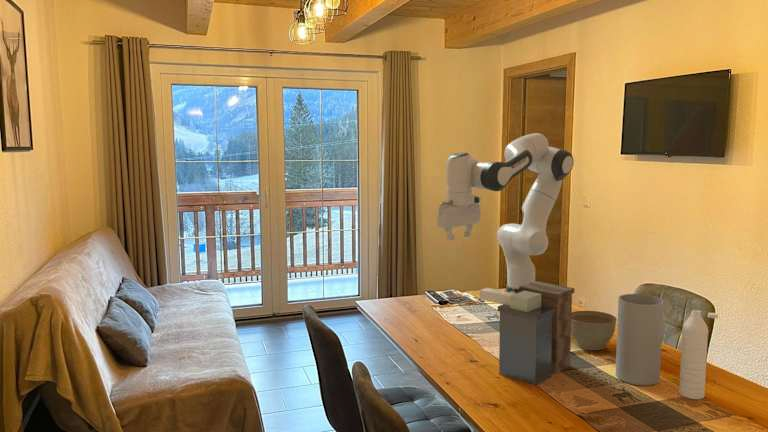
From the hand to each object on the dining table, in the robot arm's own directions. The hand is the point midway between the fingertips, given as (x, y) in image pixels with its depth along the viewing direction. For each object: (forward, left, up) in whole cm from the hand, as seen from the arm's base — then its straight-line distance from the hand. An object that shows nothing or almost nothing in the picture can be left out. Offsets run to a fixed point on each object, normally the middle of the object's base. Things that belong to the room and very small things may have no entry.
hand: (459, 238), depth 204 cm
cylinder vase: (-15, +58, -39) cm, 72 cm away
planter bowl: (-31, +35, -39) cm, 61 cm away
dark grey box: (+7, +32, -39) cm, 51 cm away
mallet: (+7, +25, -17) cm, 31 cm away
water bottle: (-14, +75, -39) cm, 86 cm away
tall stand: (-5, +32, -39) cm, 51 cm away
